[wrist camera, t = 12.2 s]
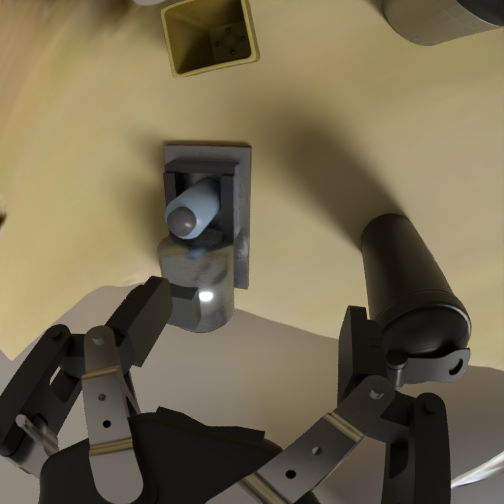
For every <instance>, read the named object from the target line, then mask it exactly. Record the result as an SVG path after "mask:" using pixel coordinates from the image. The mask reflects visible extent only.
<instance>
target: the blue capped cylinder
mask: <svg viewBox="0 0 504 504" xmlns="http://www.w3.org/2000/svg"><path fill="white" fill-rule="evenodd" d="M220 209H221V186H220V185H219V184H218V183H217V182H215V181H213V180H210V179H202V180H199V181H198V182H196V183H195V184H194V185H192V186H191V187H190V188H188V189H187V190H186V191H184V192H183V193H182V194H181V195H179V196H178V197H177V198H175V199H174V200H173V201H172V202H170V203H169V204H168V206H167V207H166V210H165V222H166V224H167V226H168V228H169V230H170V231H171V232H172V233H173V234H175V235H176V236H178V237H180V238H183V239H192V238H195V237H197V236H198V235H199V234H200V233H201V232H202V231H203V230H204V228H205V227H206V226H207V225H208V224H209V222H210V221H211V220H212V219H213V218H214V216H215V215H216V214H217V213H218V212H219V210H220Z"/></svg>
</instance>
